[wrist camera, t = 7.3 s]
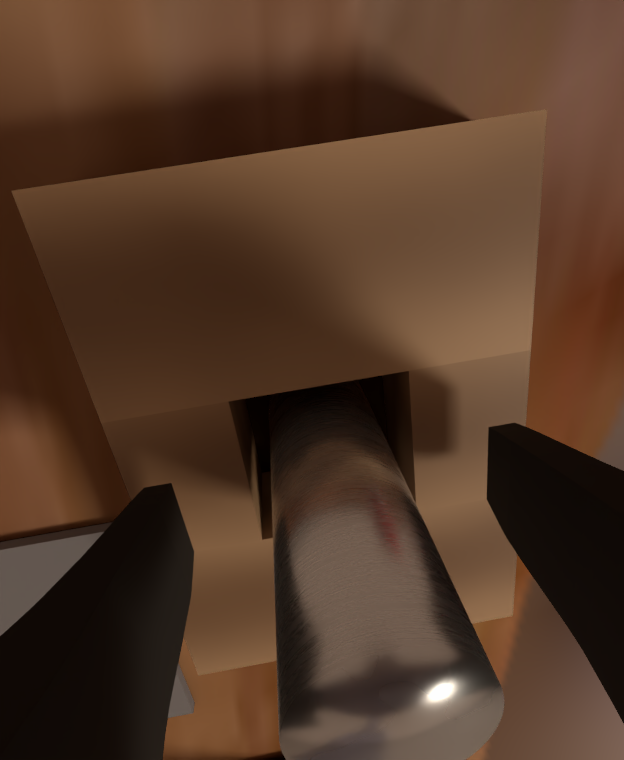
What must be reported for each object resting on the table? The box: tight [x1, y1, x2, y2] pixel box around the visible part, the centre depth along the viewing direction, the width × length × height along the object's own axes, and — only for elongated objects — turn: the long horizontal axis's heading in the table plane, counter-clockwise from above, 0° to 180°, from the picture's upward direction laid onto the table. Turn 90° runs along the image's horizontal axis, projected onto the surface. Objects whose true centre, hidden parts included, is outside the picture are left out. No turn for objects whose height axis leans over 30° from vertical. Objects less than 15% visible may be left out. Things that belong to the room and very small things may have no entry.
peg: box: [269, 380, 504, 760], centre depth 10 cm, size 3×3×9 cm
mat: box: [0, 522, 194, 718], centre depth 17 cm, size 10×8×1 cm
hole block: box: [11, 109, 547, 676], centre depth 13 cm, size 14×10×3 cm
